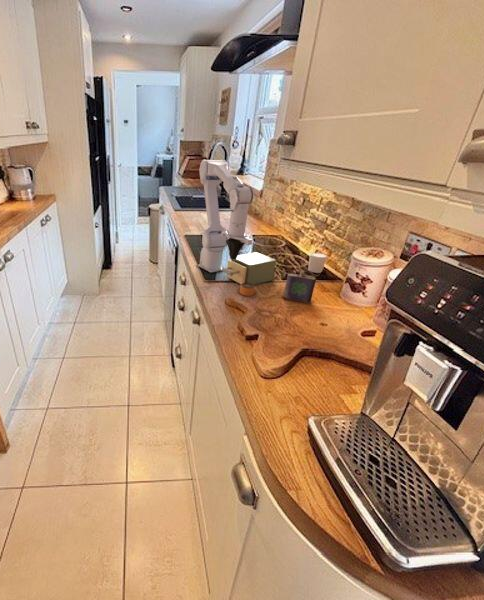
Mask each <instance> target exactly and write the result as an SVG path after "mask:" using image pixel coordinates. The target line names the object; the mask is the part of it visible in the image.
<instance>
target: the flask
mask: <svg viewBox="0 0 484 600" xmlns="http://www.w3.org/2000/svg"><path fill="white" fill-rule="evenodd" d="M316 282H317V279H316V277H314V276H312V275H307V274H306V273H305V270H300V272H299V274H297V273H288V274H287V275H286V281H285V286H284V290H283V291H284V292H283V295H282V298H283V299H286V300H290V301H295V302H302V303H306V304H311V301H312V298H313V294H314V289H315V287H316V286H315V285H316Z"/></svg>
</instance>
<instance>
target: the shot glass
mask: <svg viewBox="0 0 484 600" xmlns="http://www.w3.org/2000/svg"><path fill="white" fill-rule="evenodd" d="M328 257H329V256H328V255H326V254H324V253H320V252H311V253H310V254H309V260H308V265H307V266H308V268H307V270H308V271H309V272H310V273H314V274H315V273H316V274H321V273H322V272H323V271H324V267H325V265H326V262H327V259H328Z"/></svg>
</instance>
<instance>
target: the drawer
mask: <svg viewBox="0 0 484 600" xmlns="http://www.w3.org/2000/svg"><path fill="white" fill-rule="evenodd" d="M222 267H223V268H222V269H221V272H223V273H224V274H225V276H226V277H227V278H228V279H230V280H232V281H234V282H236V283H238V284H240V285H241V284H243V283H245V282H246V281H247V274H248V268H249V267H248V266H246V265H244V264H242V263H240V262H237V261H235V260H234V261H231V259H228V260H227V266H226V267H224V266H222Z"/></svg>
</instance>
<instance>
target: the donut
mask: <svg viewBox="0 0 484 600" xmlns="http://www.w3.org/2000/svg"><path fill="white" fill-rule="evenodd" d="M255 289H256V286H255V284H254V285H253V284H250V283H243V284H240V285H239V293H240V294H241V295H243V296H247V297H248V296H253V295H254V294H255Z"/></svg>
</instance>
